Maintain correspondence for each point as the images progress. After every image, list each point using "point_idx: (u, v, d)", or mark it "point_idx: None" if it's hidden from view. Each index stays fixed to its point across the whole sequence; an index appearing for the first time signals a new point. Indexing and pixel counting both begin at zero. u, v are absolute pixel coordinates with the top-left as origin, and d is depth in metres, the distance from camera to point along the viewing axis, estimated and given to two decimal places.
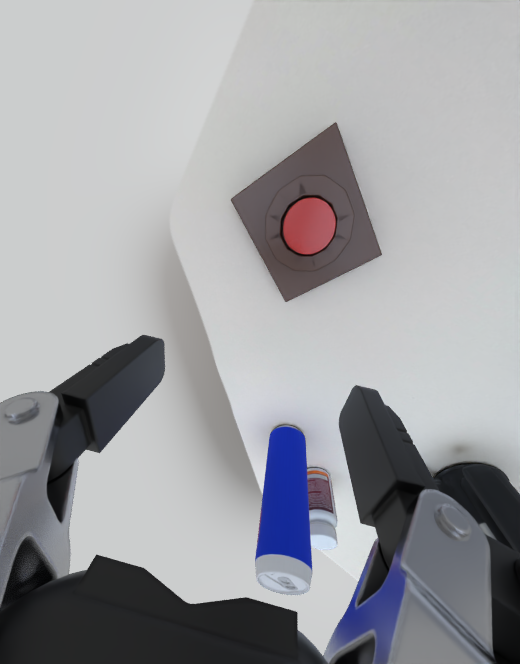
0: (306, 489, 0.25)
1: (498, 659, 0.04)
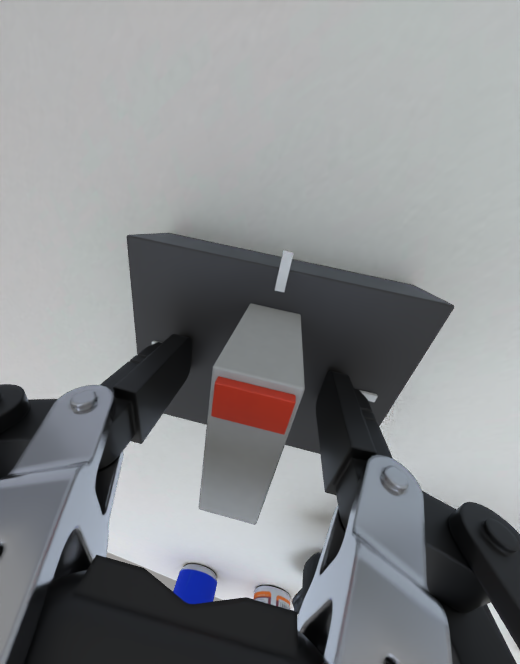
0: None
1: None
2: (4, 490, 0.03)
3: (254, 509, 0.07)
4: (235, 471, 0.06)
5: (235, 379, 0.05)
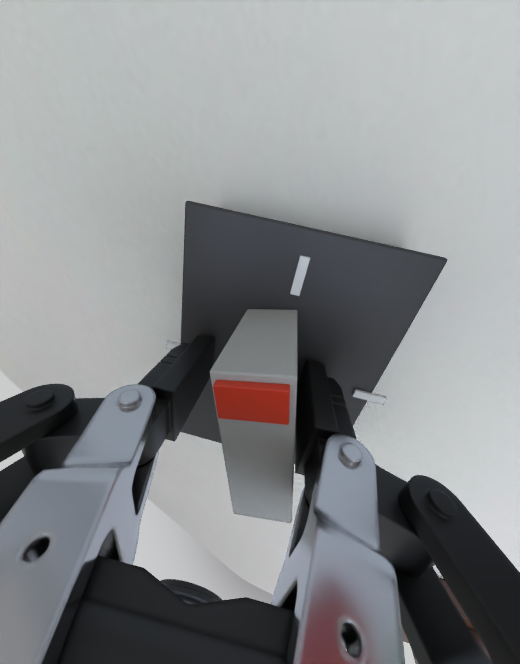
0: None
1: (396, 578, 0.05)
2: (56, 481, 0.03)
3: (285, 506, 0.07)
4: (257, 470, 0.06)
5: (231, 380, 0.05)
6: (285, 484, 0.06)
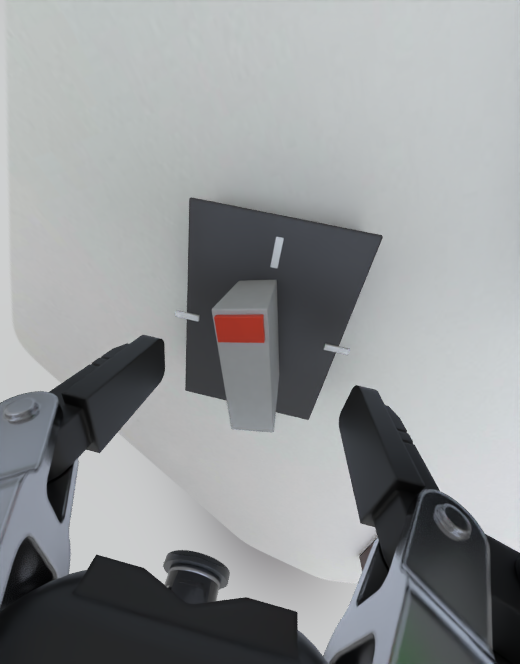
0: None
1: (497, 659, 0.04)
2: None
3: (268, 417, 0.09)
4: (246, 386, 0.09)
5: (226, 314, 0.08)
6: (266, 396, 0.09)
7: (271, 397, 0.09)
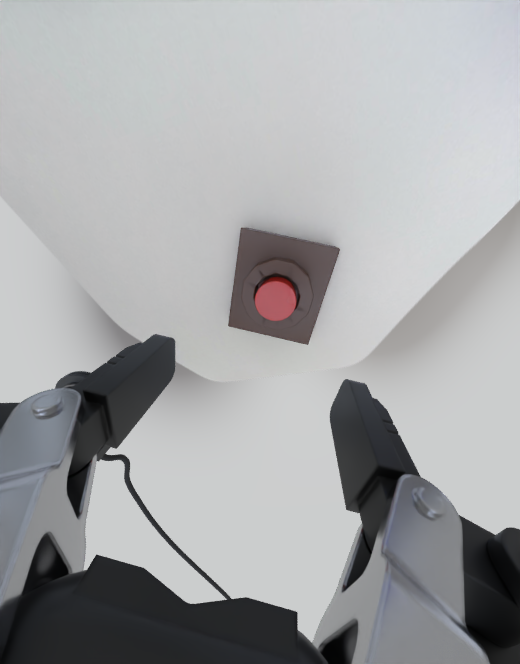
0: None
1: (474, 637, 0.04)
2: None
3: None
4: None
5: None
6: None
7: None
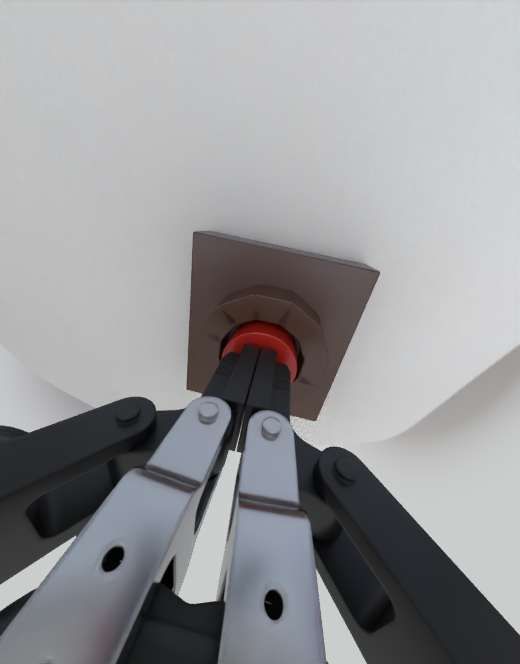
0: None
1: (319, 549, 0.05)
2: (139, 487, 0.04)
3: None
4: None
5: None
6: None
7: None
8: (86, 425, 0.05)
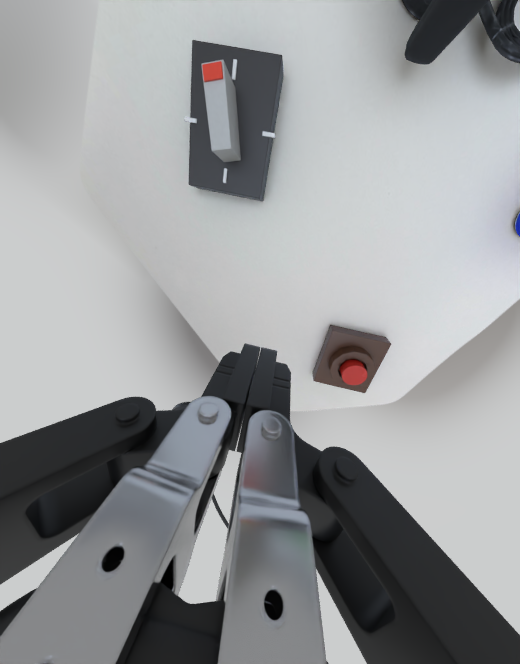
0: None
1: (319, 549, 0.05)
2: (139, 487, 0.04)
3: (228, 135, 0.21)
4: (217, 113, 0.20)
5: (207, 65, 0.19)
6: (226, 119, 0.20)
7: (228, 120, 0.20)
8: (86, 425, 0.05)
